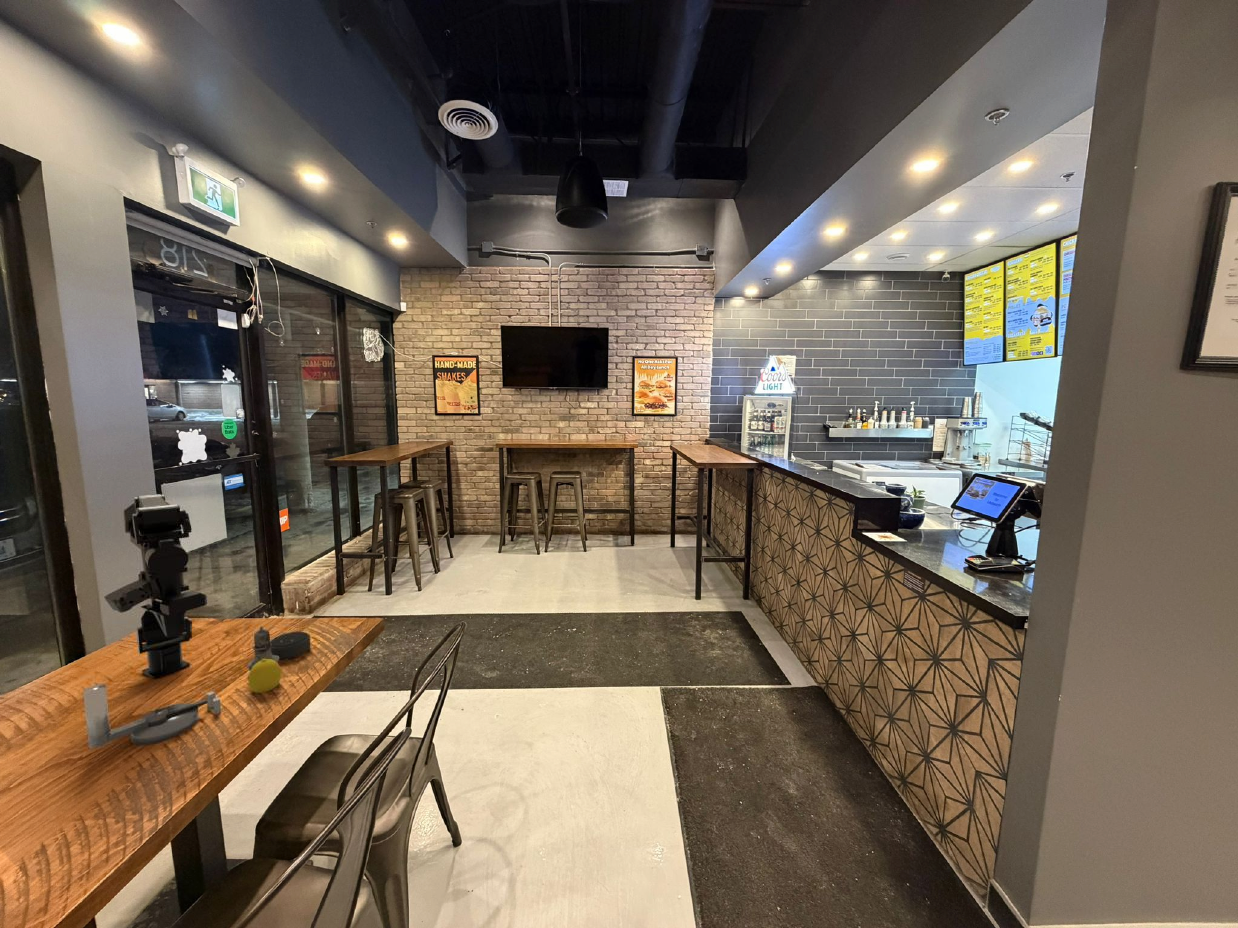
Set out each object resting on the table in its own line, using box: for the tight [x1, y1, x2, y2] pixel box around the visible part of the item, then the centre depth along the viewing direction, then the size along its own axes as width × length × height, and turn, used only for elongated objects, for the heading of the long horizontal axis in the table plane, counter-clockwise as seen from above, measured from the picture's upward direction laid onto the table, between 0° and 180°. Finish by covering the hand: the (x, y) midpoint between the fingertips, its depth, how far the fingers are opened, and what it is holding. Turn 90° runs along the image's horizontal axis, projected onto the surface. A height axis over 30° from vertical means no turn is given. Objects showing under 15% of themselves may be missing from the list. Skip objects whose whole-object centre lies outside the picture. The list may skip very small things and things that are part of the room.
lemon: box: [248, 659, 282, 694], centre depth 98 cm, size 6×6×8 cm
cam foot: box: [83, 683, 207, 749], centre depth 84 cm, size 13×11×12 cm
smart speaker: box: [270, 631, 312, 662], centre depth 116 cm, size 9×9×4 cm
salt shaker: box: [247, 626, 279, 672], centre depth 105 cm, size 6×6×12 cm
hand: (169, 635), depth 97 cm, fingers closed
